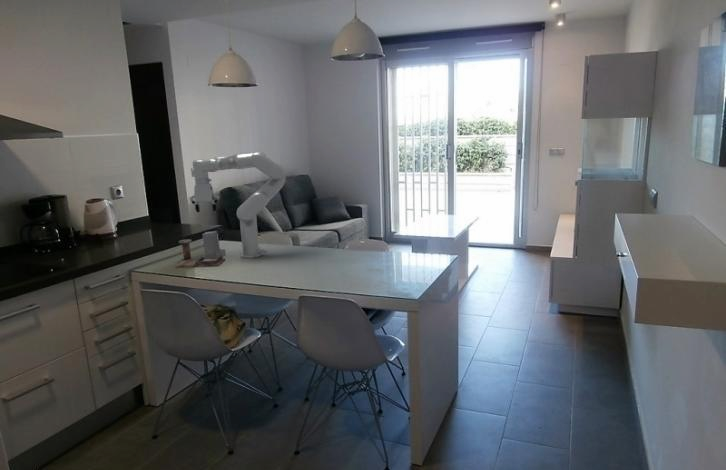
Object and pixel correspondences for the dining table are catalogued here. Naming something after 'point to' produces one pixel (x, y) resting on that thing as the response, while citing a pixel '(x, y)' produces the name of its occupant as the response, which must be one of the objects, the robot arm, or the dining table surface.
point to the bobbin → (186, 249)
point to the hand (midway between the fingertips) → (206, 211)
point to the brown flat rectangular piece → (200, 262)
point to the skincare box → (211, 245)
